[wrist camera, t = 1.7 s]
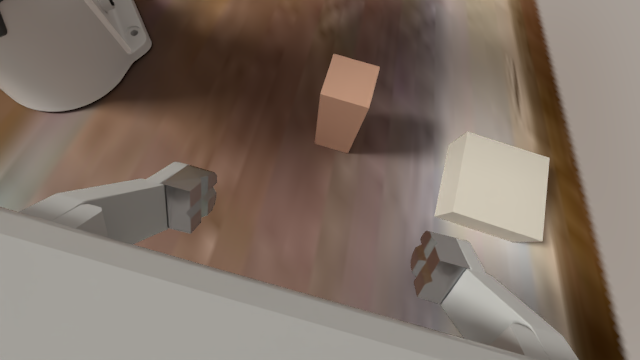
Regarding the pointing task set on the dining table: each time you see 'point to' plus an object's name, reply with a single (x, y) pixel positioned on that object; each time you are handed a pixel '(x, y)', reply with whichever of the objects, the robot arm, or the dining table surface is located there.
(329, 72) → the tan rectangular block
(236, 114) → the dining table surface
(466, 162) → the cream block
